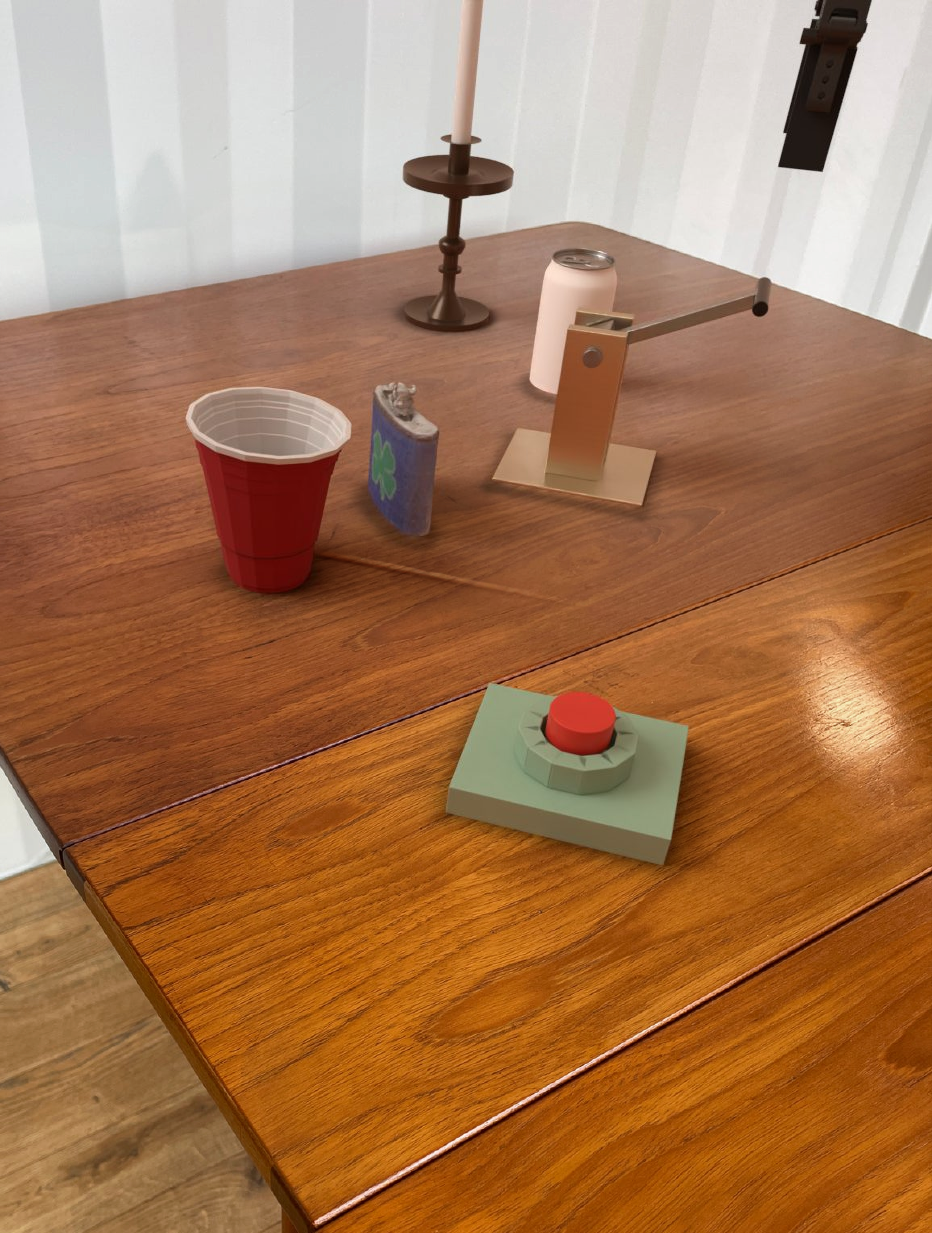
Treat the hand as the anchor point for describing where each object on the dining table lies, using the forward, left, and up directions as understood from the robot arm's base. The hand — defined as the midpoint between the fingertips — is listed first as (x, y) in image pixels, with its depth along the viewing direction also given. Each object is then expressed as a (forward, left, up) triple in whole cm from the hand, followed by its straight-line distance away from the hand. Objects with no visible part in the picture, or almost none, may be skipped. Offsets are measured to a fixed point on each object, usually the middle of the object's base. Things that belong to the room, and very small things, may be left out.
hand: (802, 149), depth 74 cm
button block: (+5, +38, -25) cm, 46 cm away
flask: (+23, +12, -26) cm, 36 cm away
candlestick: (+30, -31, -26) cm, 50 cm away
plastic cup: (+29, +23, -26) cm, 45 cm away
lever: (+5, 0, -13) cm, 14 cm away
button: (+5, +38, -22) cm, 44 cm away
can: (+15, -17, -26) cm, 34 cm away
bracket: (+11, 0, -25) cm, 28 cm away
